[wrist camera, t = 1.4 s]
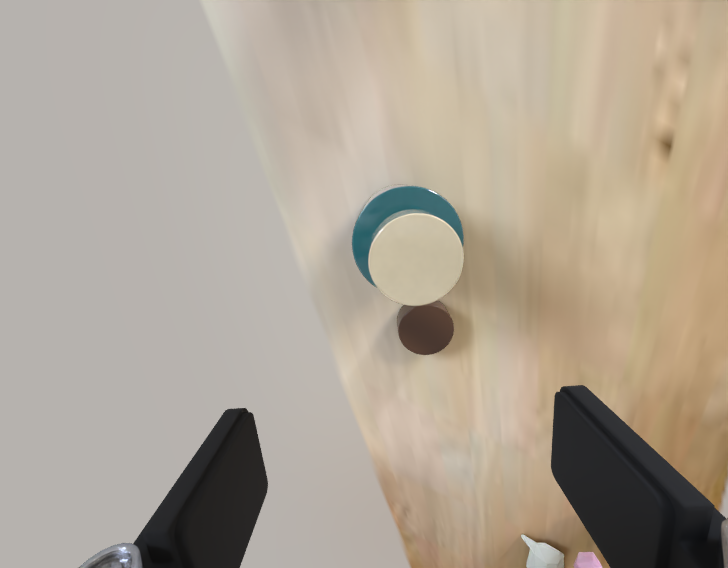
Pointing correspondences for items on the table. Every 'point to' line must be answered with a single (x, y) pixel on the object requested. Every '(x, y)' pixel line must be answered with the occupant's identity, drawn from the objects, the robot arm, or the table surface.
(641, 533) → the robot arm
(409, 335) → the brown round puck
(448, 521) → the table surface
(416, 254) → the bottle
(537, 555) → the flower
